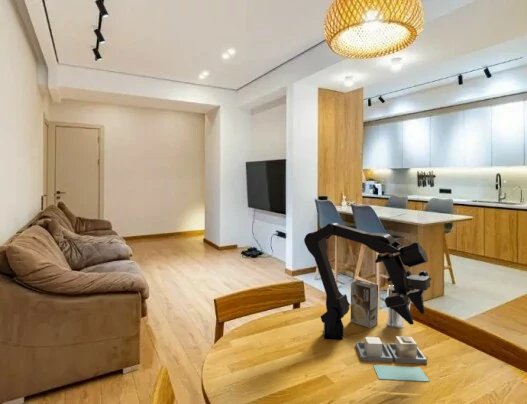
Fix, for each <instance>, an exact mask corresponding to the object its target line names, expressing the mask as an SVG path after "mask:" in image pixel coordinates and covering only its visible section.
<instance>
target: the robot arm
mask: <svg viewBox="0 0 527 404" xmlns="http://www.w3.org/2000/svg"><path fill="white" fill-rule="evenodd" d="M333 236H335V237H340V238H342V239H346V240H349V241H352V242H355V243H358V244H362V245H364V246H366V247H367V248H368V249H370V250H371V251H374V252H376V253H378V254H377V255H376V259H375V261H374V262H375V264H377V263H380V262H381V263H382V264H383V267H384V269H385V271H386V274H387V276H388V277H387V278H386V280H387V282H391V284H392V285H393V287H394V290H393V294H391V295H389V296H388V297H387V296H386V297H385V299H384V303H385V305H386V308H388V307H390V309H393V310H394V311H396V312H397V313H398V314H399V315H400V316H401V317H403V320H405V321H406V322H407V323H408V324H409V325H410V326H411V325H414V320H413V317H412V313H411V311H410V308H409V307H410V304H411V302H412V304H413V306H414V307H415V308H416V309H417V311H418V312H419V313H420V314H422V315H423V314H425V306H424V297H423V295H424V293H425V291H427V290H428V289H429V288H431V280H432V277H431V275H429V273H428V271H426V270H421V271H420V272H419V273H417V274H412V272H411V271H410V270H409V269H408V270H407V269H406V266H407V267H408V268H413V267H415V266H419V265H422V264H426V263H428V262H429V258H428V254H427V252H426V250H425V249H424V248H423V246H422V245H420V242H419V241H415V242H413V243H411V244H407V245H403V244H402V243H400V242H398V241H397V240H395V238H394V237H393V236H392V235H391V234H389V233H382V232H367V231H364V230H360V229H357V228H355V227H351V226H347V225H344V224H341V223H340V224H339V223H337V222H331V223H327V224H326V225H325V226H323V227H322V228H320V229H318V230H316V231H312V232H309V233H307V234H306V235H305V236H304V238H303V239H304V240H303V242H304V245H305V247H306V249H307V251H308V252H309V253H310V254H311V256H312V257H313V259H314V261H315V264H316V267H317V270H318V273H319V276H320V279H321V282H322V286H323V288H324V292H325V297H326V298H325V307H326V308H325V309H326V312H324V313H323V314H322V315H320V320H321V322H322V324H323V330H322V334H323V335H322V336H323V339H324V340H332V341H335V340H336V341H337V340H338V341H343V337H344V324H343V323H344V322H343V321H342V319H343V318H344V317H345V315H347V314H348V313H349V311H350V306H351V303H350V302H349V301H348V300H349V299H348V296H347V294H346V293H344V294H342V293H341V292H340V289H339V287H338V284H337V281H336V278H335V275H334V272H333V270H332V267H331V263H330V259H329V257H328V253H327V252H328V251H327V250H328V242H327V240H328V239H329V238H331V237H333Z"/></svg>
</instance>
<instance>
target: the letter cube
mask: <svg viewBox="0 0 527 404" xmlns="http://www.w3.org/2000/svg"><path fill="white" fill-rule="evenodd" d="M395 343H396V352H397V354H398V356H399V357H407V358H417V347H418V343H417V342H416V341H415V340H414V339H413V337H412V336H397V335H395Z"/></svg>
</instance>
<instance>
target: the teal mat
mask: <svg viewBox="0 0 527 404" xmlns="http://www.w3.org/2000/svg"><path fill="white" fill-rule="evenodd" d="M372 367H373V369H374V371H375V373H376V376H377V378H378V380H385V381H402V382H403V381H404V382H424V383H425V382H426V383H430V380H429V378H428V377H427V375H426V374H425V373H424V371H423V369H422V368H421V367H420V366H419V367H418V366H398V365H377V364H376V365H374V364H373V366H372Z"/></svg>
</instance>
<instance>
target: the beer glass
mask: <svg viewBox="0 0 527 404" xmlns="http://www.w3.org/2000/svg"><path fill="white" fill-rule="evenodd" d="M393 290H394V287H393V285H388V286H387V290H386V297H388V296H389V295H391V294H393ZM387 313H388V315H387V316H388V317H387V322H386V324H387V326H388V327H391V328H393V329H402V328H404V318H403V317H401V316H400V315H399V314H398V313H397V312H396V311H394V310H393V309H390V307H387Z"/></svg>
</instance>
